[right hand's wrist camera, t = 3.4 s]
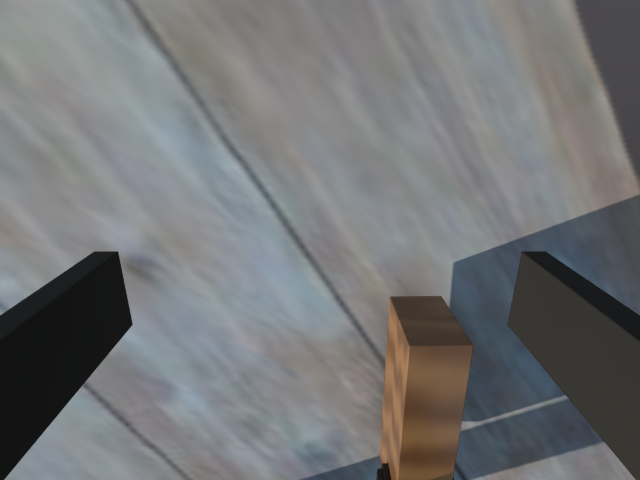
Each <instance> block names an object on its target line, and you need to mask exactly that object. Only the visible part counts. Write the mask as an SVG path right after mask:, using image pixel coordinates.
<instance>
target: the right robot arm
mask: <svg viewBox="0 0 640 480" xmlns="http://www.w3.org/2000/svg"><path fill="white" fill-rule="evenodd" d="M132 325H133V324H132V319H131V314H130V309H129V304H128V299H127V294H126V289H125V284H124V279H123V274H122V269H121V264H120V259H119V254H118V252H93V253H92V254H90V255H89V256H87V257H86V258H84V259H83V260H81V261H80V262H78V263H77V264H75V265H74V266H73V267H71V268H70V269H68V270H67V271H65V272H64V273H62V274H61V275H59V276H58V277H56V278H55V279H53V280H52V281H50V282H49V283H48V284H46V285H45V286H43V287H42V288H40V289H39V290H37V291H36V292H34V293H33V294H31V295H30V296H28V297H27V298H25V299H24V300H23V301H21V302H20V303H18V304H17V305H15V306H14V307H12V308H11V309H9V310H8V311H6V312H5V313H3V314H2V315H0V480H4V479H5V478H6V477H7V476H8V474H9V473H10V472H11V471H12V469H13V468H14V467H15V466H16V465H17V463H18V462H19V461H20V460H21V459H22V457H23V456H24V455H25V454H26V453H27V451H28V450H29V449H30V448H31V447H32V445H33V444H34V443H35V442H36V441H37V439H38V438H39V437H40V436H41V434H42V433H43V432H44V431H45V430H46V428H47V427H48V426H49V425H50V424H51V422H52V421H53V420H54V419H55V418H56V416H57V415H58V414H59V413H60V412H61V410H62V409H63V408H64V407H65V406H66V404H67V403H68V402H69V401H70V399H71V398H72V397H73V396H74V395H75V393H76V392H77V391H78V390H79V389H80V387H81V386H82V385H83V384H84V383H85V381H86V380H87V379H88V378H89V377H90V375H91V374H92V373H93V372H94V371H95V369H96V368H97V367H98V366H99V365H100V363H101V362H102V361H103V360H104V358H105V357H106V356H107V355H108V354H109V352H110V351H111V350H112V349H113V348H114V346H115V345H116V344H117V343H118V342H119V340H120V339H121V338H122V337H123V336H124V334H125V333H126V332H127V331H128V330H129V328H130V327H131V326H132ZM507 325H508V326H509V327H510V328H511V330H512V331H513V332H514V333H515V334H516V336H517V337H518V338H519V339H520V340H521V342H522V343H523V344H524V345H525V346H526V348H527V349H528V350H529V351H530V352H531V354H532V355H533V356H534V357H535V358H536V360H537V361H538V362H539V363H540V365H541V366H542V367H543V368H544V369H545V371H546V372H547V373H548V374H549V375H550V377H551V378H552V379H553V380H554V381H555V383H556V384H557V385H558V386H559V387H560V389H561V390H562V391H563V392H564V393H565V395H566V396H567V397H568V398H569V400H570V401H571V402H572V403H573V404H574V406H575V407H576V408H577V409H578V410H579V412H580V413H581V414H582V415H583V416H584V418H585V419H586V420H587V421H588V422H589V424H590V425H591V426H592V427H593V428H594V430H595V431H596V432H597V433H598V434H599V436H600V437H601V438H602V439H603V441H604V442H605V443H606V444H607V445H608V447H609V448H610V449H611V450H612V451H613V453H614V454H615V455H616V456H617V457H618V459H619V460H620V461H621V462H622V463H623V465H624V466H625V467H626V468H627V469H628V471H629V472H630V473H631V474H632V476H633V477H634V478H635V479H636V480H640V315H638V314H637V313H635V312H634V311H632V310H631V309H629V308H628V307H626V306H625V305H623V304H622V303H620V302H619V301H617V300H616V299H615V298H613V297H612V296H610V295H609V294H607V293H606V292H604V291H603V290H601V289H600V288H598V287H597V286H595V285H594V284H592V283H591V282H590V281H588V280H587V279H585V278H584V277H582V276H581V275H579V274H578V273H576V272H575V271H573V270H572V269H570V268H569V267H567V266H566V265H565V264H563V263H562V262H560V261H559V260H557V259H556V258H554V257H553V256H551V255H550V254H548V253H547V252H522V254H521V259H520V264H519V269H518V274H517V279H516V284H515V289H514V294H513V299H512V304H511V309H510V314H509V319H508V324H507Z"/></svg>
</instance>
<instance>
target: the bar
mask: <svg viewBox="0 0 640 480" xmlns="http://www.w3.org/2000/svg"><path fill="white" fill-rule="evenodd" d="M472 352H473V344H472V342H471V341H470V339H469V338H468V336H467V335H466V333H465V332H464V330H463V329H462V327H461V325H460V324H459V322H458V321H457V319H456V318H455V316H454V315H453V313H452V312H451V310H450V309H449V307H448V306H447V304H446V303H445V301H444V300H443V298H442V297H441V296H412V297H390V303H389V319H388V335H387V350H386V366H385V382H384V397H383V413H382V429H381V445H380V461H381V465H382V463H388V466H389V470H390V475H391V480H453V475H454V468H455V462H456V455H457V449H458V442H459V436H460V429H461V423H462V416H463V410H464V403H465V397H466V390H467V384H468V378H469V371H470V365H471V358H472Z"/></svg>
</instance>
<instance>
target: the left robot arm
mask: <svg viewBox="0 0 640 480" xmlns="http://www.w3.org/2000/svg"><path fill="white" fill-rule="evenodd" d="M376 480H391V475H390V470H389V466H388V463H382V465H381V469H378V471H377V479H376ZM453 480H454V478H453Z"/></svg>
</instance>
